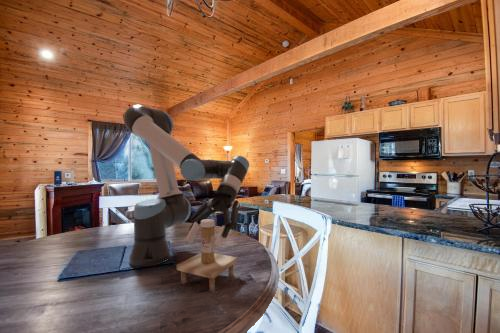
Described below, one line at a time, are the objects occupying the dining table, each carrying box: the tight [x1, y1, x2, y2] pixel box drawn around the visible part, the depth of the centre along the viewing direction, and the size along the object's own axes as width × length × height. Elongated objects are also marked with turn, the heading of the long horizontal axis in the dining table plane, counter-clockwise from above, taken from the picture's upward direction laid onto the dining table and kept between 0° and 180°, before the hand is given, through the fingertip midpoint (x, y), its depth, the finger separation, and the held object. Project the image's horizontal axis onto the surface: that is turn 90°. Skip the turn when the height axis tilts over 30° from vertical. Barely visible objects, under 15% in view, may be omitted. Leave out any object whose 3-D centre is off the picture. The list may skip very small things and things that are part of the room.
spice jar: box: [200, 218, 216, 263], centre depth 82 cm, size 5×5×13 cm
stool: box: [176, 252, 238, 293], centre depth 82 cm, size 14×14×6 cm
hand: (202, 243), depth 79 cm, fingers open, 10 cm apart
